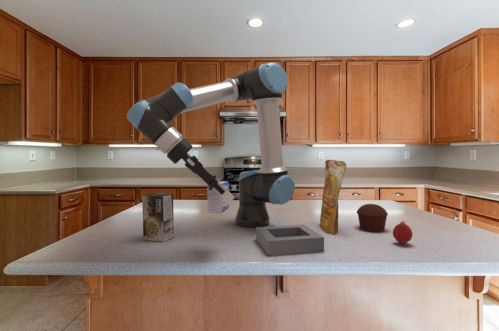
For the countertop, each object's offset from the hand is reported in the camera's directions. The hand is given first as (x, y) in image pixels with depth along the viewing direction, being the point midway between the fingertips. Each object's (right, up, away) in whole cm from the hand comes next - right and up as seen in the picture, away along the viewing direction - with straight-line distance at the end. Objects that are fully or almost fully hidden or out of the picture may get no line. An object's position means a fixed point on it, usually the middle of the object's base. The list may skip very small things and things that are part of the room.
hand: (229, 197), depth 85 cm
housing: (+19, -17, +7) cm, 26 cm away
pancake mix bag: (+39, -16, +27) cm, 51 cm away
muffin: (+56, -16, +27) cm, 64 cm away
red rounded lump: (+58, -17, +8) cm, 61 cm away
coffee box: (-27, -17, +15) cm, 35 cm away
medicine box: (-3, -4, -1) cm, 5 cm away
